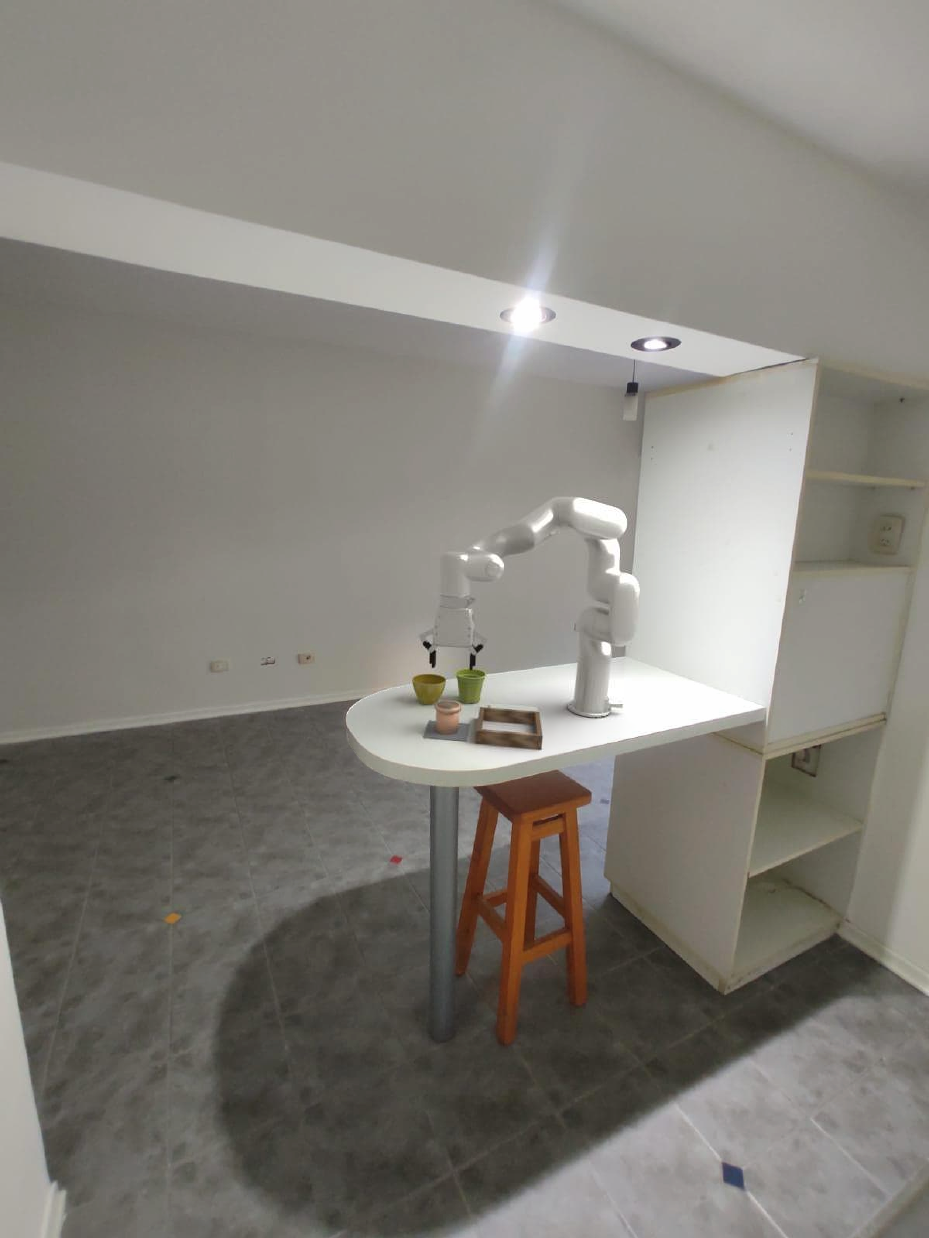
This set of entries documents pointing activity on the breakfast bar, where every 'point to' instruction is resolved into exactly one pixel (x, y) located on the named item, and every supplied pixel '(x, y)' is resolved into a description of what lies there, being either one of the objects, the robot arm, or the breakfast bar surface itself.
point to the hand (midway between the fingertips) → (452, 667)
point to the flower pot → (428, 687)
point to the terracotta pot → (447, 717)
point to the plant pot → (470, 684)
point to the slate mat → (459, 736)
